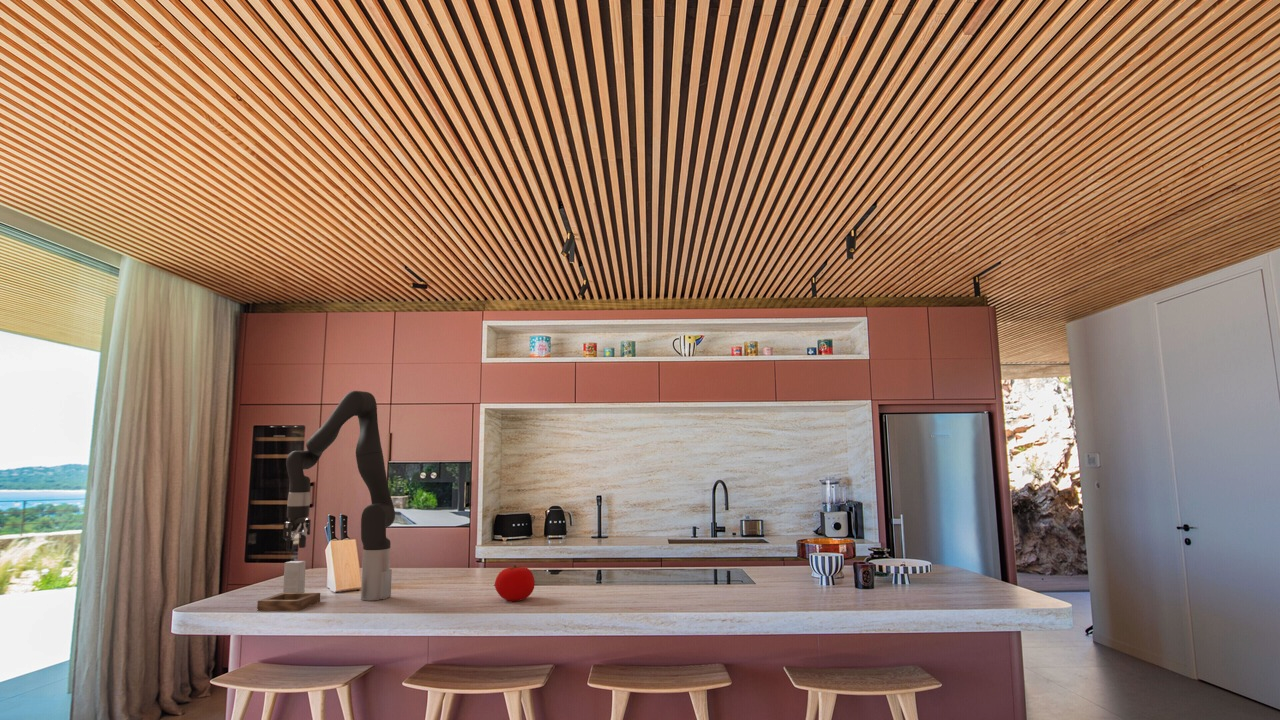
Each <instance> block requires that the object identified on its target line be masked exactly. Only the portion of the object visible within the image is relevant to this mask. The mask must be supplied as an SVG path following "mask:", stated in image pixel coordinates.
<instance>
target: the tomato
mask: <svg viewBox="0 0 1280 720" xmlns="http://www.w3.org/2000/svg"><path fill="white" fill-rule="evenodd" d="M535 582H536V581H535V576H534V574H533V572H532V571H531V570H530V568H528V567H525V566H522V565H521V566H518V565H516V564H514V565H513V566H509V567H506V568H503V569H502V570H501V571H500V572H499V573H498V574H497V576H496V579H495V582H494V589H495V590H496V592H497V594H498V596H499V597H500V598H502V599H504V600H506V601H509V602H516V601H523V600H524V599H527V598H528V597H529V596H531V594H533V591H534V589H535Z"/></svg>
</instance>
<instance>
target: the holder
mask: <svg viewBox="0 0 1280 720" xmlns="http://www.w3.org/2000/svg"><path fill="white" fill-rule="evenodd" d="M317 602H318V603H320V602H321V592H304V593H283V592H280V593H277V594H273V595H272V596H271V595H270V596H268V597H266V598H262V599H259V600H257V607H256V610H257V609H258V610H257V611H282V612H283V611H284V612H285V611H289V612H290V611H295V612H296V611H298V612H299V611H300V610H303V609H305V608H308V607H310V605H311V606H313V605H315V603H316V604H317Z"/></svg>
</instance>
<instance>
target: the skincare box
mask: <svg viewBox="0 0 1280 720" xmlns="http://www.w3.org/2000/svg"><path fill="white" fill-rule="evenodd" d="M306 565H307V563H306V560H290V561H286V562H284V570H283V572H284V573H283V587H282V588H283V591H282V593H305V587H306V582H305V581H306V567H307V566H306Z"/></svg>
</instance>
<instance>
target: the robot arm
mask: <svg viewBox="0 0 1280 720" xmlns="http://www.w3.org/2000/svg"><path fill="white" fill-rule="evenodd" d="M355 416H356V417H357V418H358V419H357V420H358V424H359V436H358V440H357V443H356V447H355V459H356V460H355V461H356V463H357V470H358V472H359V475H360V477H361V478H362V481H363V482H364V484H365V485H366V487H367V489H368V491H369V494H370V500H371V501H370V502H371V504H369V505H367V506H365V508H364V509H363V510H362V513H361V519H360V537H361V538H360V540H361V543H362V563H361V564H362V568H361V569H362V570H361V586H360V587H361V592H360V600H362V601H380V600H379V599H384V600H385V598H386V599H388V598H390V597H391V596H392V578H393V577H392V575H393V572H392V569H391V568H390V567H391V543H392V542H391V540H390V539H389V538H388V537H387V534H386V528H389V527H390V526H392V525H393V524H394V522H395V518H396V511H395V507H394V503H393V499H392V495H391V493H390V489H389V484H388V476H387V472H386V471H387V470H386V466H385V459H384V453H383V448H382V442H381V436H380V431H379V423H378V422H379V421H378V419H379V418H378V407H377V401H376V398H375V396H374V395H373V393H371V392H369V391H361V390H352V391H349V392H347V393H346V394H345V395H344V397H343V398H342V399H341V400H340V402H339V403H338V404H337V406H336V408H334V410H333V412H332V413H330V416H329V417H328V418H327V420H326V421H325V422H324V423H323V424H322V426H320V427H319V428H318V430H316V432H314V434H313V435H311V436H310V438H308V440H307V441H306V444H305V446H306V449H305V450H293V451H291V452H289V453H288V455H287V457H286V459H285V460H286V461H285V465H286V467H285V468H286V471H287V475H288V476H287V477H288V480H289V481H288V482H289V484H288V485H289V487H288V495H287V504H286V505H287V507H286V518H287V519H289V521H284V523H283V527H282V540H285V541H286V544H285V545H286V546H285V550H286V551H287V552H293V550H294V539H295V536H296V535H298V536H299V540H298V548H300V549H304V548H306V546H307V545H306V544H307V537H308V536H310V535H311V519H310V518H308V517H309V516H310V504H311V494H310V493H311V492H310V490H311V478H310V477H309V476H307V475H305V473H304V470H310V469H312V467H314V466H316V465H317V463H318V461H319V459H320V458H321V457H322V455H323V452H325V450H327V449H328V448H329V447H330V446H331V445H332V444H333V443H334V442H335V440H336V439H337V437H338V436H339V433H340V431H341V429H342V427H343V425H344V424H346V422H348V420H350V419H351V418H353V417H355ZM389 596H390V597H389ZM387 597H388V598H387Z"/></svg>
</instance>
